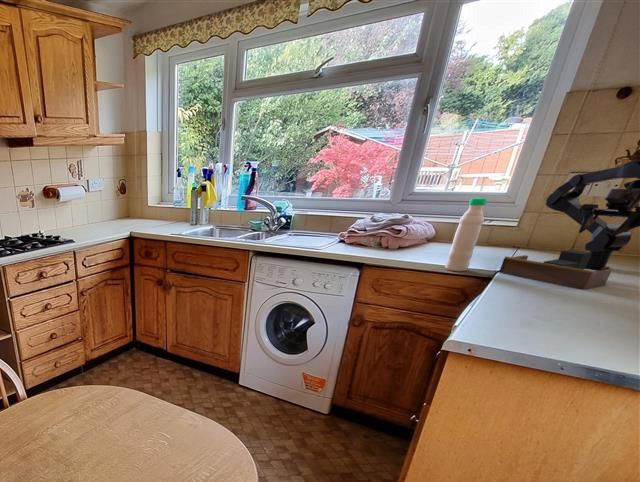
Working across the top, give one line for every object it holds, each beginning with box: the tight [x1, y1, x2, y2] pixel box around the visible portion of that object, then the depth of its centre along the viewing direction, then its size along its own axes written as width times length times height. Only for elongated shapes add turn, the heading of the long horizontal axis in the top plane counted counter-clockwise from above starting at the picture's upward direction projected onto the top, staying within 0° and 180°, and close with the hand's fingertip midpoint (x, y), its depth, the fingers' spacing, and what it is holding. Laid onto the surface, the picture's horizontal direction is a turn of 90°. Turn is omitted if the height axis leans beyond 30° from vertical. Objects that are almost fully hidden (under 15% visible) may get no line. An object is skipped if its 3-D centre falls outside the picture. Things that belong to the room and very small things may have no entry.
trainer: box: [543, 249, 592, 270], centre depth 149 cm, size 13×6×8 cm, turn 111°
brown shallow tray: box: [498, 254, 613, 290], centre depth 148 cm, size 12×25×6 cm, turn 21°
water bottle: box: [444, 197, 488, 272], centre depth 157 cm, size 7×7×25 cm
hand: (596, 233), depth 148 cm, fingers open, 9 cm apart
